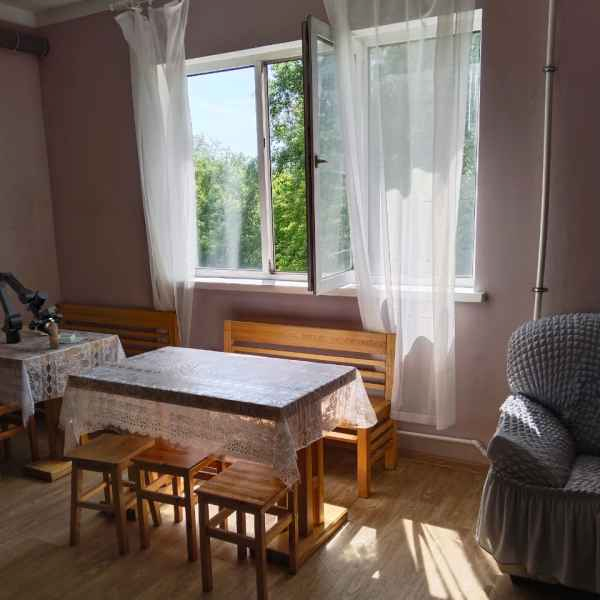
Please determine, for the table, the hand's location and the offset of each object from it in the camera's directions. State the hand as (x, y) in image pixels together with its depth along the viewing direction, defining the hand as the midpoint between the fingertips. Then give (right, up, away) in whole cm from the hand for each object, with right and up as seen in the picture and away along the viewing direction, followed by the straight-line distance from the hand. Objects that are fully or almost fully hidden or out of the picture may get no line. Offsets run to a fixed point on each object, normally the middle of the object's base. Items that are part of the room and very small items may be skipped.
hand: (55, 334), depth 321 cm
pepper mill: (-1, -7, +2) cm, 8 cm away
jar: (-16, -2, +33) cm, 37 cm away
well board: (-1, -5, +17) cm, 18 cm away
